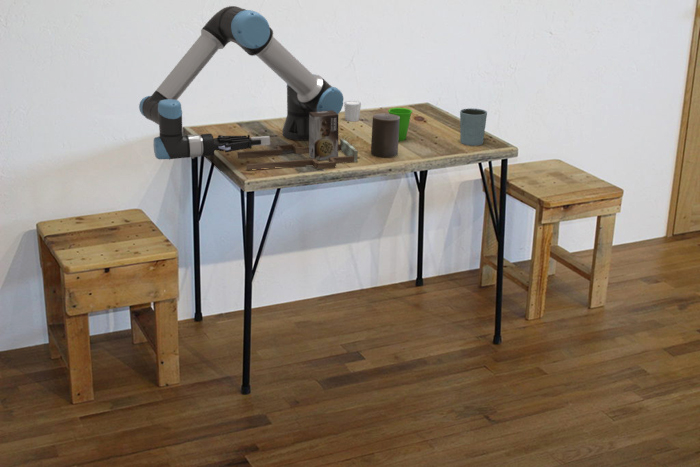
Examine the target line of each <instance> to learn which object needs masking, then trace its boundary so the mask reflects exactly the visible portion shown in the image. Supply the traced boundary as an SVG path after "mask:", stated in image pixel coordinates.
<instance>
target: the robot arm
mask: <svg viewBox="0 0 700 467" xmlns="http://www.w3.org/2000/svg"><path fill="white" fill-rule="evenodd" d="M200 33H201V34H200V35H199V37H198V38H197V39H196V41H194V43H193V44H192V45H191V47H190V48H188V50H187V52H186V53H185V54H184V55H183V56H182V57H181V59H180V60H179V62H178V63H176V65H175V66H174V68H172V70H171V71H170V72H169V74H168V75H167V76H166V77H165V78H164V80H163V81H162V82H161V84H159V86H158V87H157V89H156V90H155V91H154V92H153V93H152V94H151V95H148V96H145V97H143V98H141V100H140V102H139V104H138V108H139V113H140V114H141V115H142V116H143V117H145V119H147V120H149V121H152V122H153V123H155V124H156V125H158V128H159V129H158V130H159V134H158V135H159V136H156V137H154V138H153V151H154V153H153V154H154V156H155V158H156V159H157V160H175V159H177V160H178V159H185V158H186V159H188V158H191V159H195V158H197V157H198V158H199V157H213V156H214V155H215V151H219V152H224V153H226V154H227V153H230V152H236V151H241V150H248V149H250V150H251V149H253V148H252V147H256V146H257V147H258V146H269V145H270V146H271V137H270V135H263V136H250V134H247V135H223V134H222V135H221V134H219V135H217V137H215V138H214V135H213V134H212V133H201V134H183V110H182V104H181V103H182V102H180V101H179V100H178V99H179V98H180V97H181V96H182V95H183V93H185V91H186V90H187V89H188V87H189V86H190V84H192V82H193V81H194V80H195V79H196V77H197V76H198V75H199V74H200V73H201V72H202V70H203V69H204V68H205V67H206V65H207V64H208V63H209V62H210V61H211V59H212V58H213V56H214V55H215V54H216V53H217V52H218V50H223V49H224V48H225V47H226V46H227V45H228V44H229V43H234V44H236V45H237V46H239V47H240V49H242V50H243V51H244V52H245V53H247V54H248V56H251V57H253V56H254V57H255V56H257V57H258V59H260V60H261V61H262V63H264V64H265V65H266V66H267V67H268V68H269V69H271V71H272V72H274V74H276V75H277V76H278V77H279V78H280V79H282V80H283V81H284V83H286V99H287V100H286V107H287V109H286V111H287V112H286V118H285V120H284V124H283V127H282V137H284V138H286V139H289V140H293V141H309V112H317V111H330V110H333V111H334V112H336V113H337V114H338V115H339V114H340V112H341V111H342V110H343V107H344V95H343V93H342V90H340V89H339V88H338V87H335V86H332V85H331V84H329V82H328V81H326V80H325V79H324V78H323V77H322V76H321V75H319V74H313V73H312V72H310V70H309V69H308V68H306V67H305V65H304V64H302V62H300V61H299V60H298V59H297V58H296V57H295V56H294V55H293V54H292V53H291V52H290V51H289V50H288V49H287V48H285V46H283V44H282V43H280V41H278V40H277V39H276V38H275V37H274V31H273V29H272V28H271V27H270V24H269V22H268V19H267V18H266V17H264V16H263V15H262V14H260V13H259V12H257V11H254V10H252V9H251V10H250V9H245V8H242V7H239V6H237V5H236V6H234V5H229V6H226V7H223V8H221V9H220V10H219V11H218V12H216V13H214V15H213V16H212V17H211V18H209V20H208V21H207V22H206V23H205V25H204V26H203V27H202V29H201V30H200Z"/></svg>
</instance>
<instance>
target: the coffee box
mask: <svg viewBox="0 0 700 467" xmlns="http://www.w3.org/2000/svg"><path fill="white" fill-rule="evenodd" d="M308 141H309V143H308V147H309V153H308V156H309V158H310V159H316V160H318V161H326V159H328V160H329V157H339V151H338V144H339V114H337V113H336V112H334V111H333V110H330V111H317V112H309V140H308Z"/></svg>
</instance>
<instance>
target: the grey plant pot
mask: <svg viewBox="0 0 700 467" xmlns="http://www.w3.org/2000/svg"><path fill="white" fill-rule="evenodd" d="M459 115H460V116H459V122H460V123H459V124H460V125H459V126H460V130H459V132H460V134H459V135H460V141H459V142H460V143H461V144H462V145H465V146H470V147H477V146H482V145H483V143H484V140H485V138H484V137H485V130H486V125H487V124H486V123H487V117H488V116H487V115H488V111H487V110H485V109H480V108H472V107H471V108H462V109H461V110H460V111H459Z"/></svg>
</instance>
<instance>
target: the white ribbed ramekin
mask: <svg viewBox="0 0 700 467" xmlns="http://www.w3.org/2000/svg"><path fill="white" fill-rule="evenodd" d="M361 105H362V103H361V102H360V101H357V100H347V101H343V107H344V120H345V121H346V122H347V121H348V122H358V121H360V115H361V107H362V106H361Z"/></svg>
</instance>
